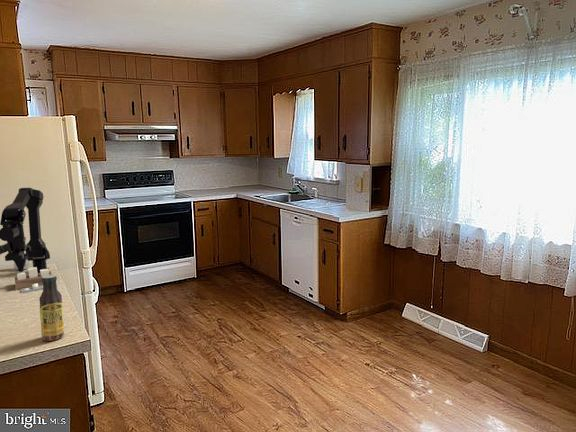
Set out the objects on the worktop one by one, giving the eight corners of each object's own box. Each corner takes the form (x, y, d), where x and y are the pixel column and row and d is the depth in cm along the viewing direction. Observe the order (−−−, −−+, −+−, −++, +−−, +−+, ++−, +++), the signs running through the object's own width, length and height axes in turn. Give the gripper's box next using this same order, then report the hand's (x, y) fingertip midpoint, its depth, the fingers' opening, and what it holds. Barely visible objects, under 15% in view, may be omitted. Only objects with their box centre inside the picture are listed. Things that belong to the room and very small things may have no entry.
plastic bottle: (24, 271, 211) (19, 231, 208) (11, 271, 211) (5, 231, 208) (32, 267, 218) (27, 228, 215) (19, 267, 218) (14, 229, 215)
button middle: (29, 279, 190) (28, 268, 189) (37, 277, 192) (36, 267, 191) (29, 280, 187) (28, 269, 187) (38, 279, 189) (36, 268, 188)
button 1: (18, 284, 188) (16, 273, 187) (26, 283, 190) (25, 272, 189) (18, 286, 185) (16, 275, 185) (27, 284, 187) (25, 273, 186)
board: (15, 284, 190) (14, 276, 190) (51, 278, 198) (50, 271, 197) (16, 290, 182) (15, 282, 182) (53, 284, 190) (52, 276, 189)
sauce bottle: (43, 344, 130) (36, 280, 127) (41, 337, 135) (33, 276, 132) (67, 338, 134) (60, 276, 131) (64, 331, 139) (57, 272, 136)
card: (21, 290, 182) (20, 285, 182) (48, 285, 187) (47, 280, 187) (21, 293, 178) (21, 287, 178) (49, 288, 184) (48, 283, 183)
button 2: (41, 280, 193) (40, 269, 192) (49, 279, 194) (48, 268, 194) (41, 282, 190) (40, 271, 189) (50, 281, 192) (48, 270, 191)
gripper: (0, 234, 190) (4, 268, 192) (-13, 242, 173) (-7, 280, 175) (29, 232, 194) (33, 265, 196) (19, 239, 176) (24, 276, 179)
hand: (20, 271), depth 187 cm, fingers closed
